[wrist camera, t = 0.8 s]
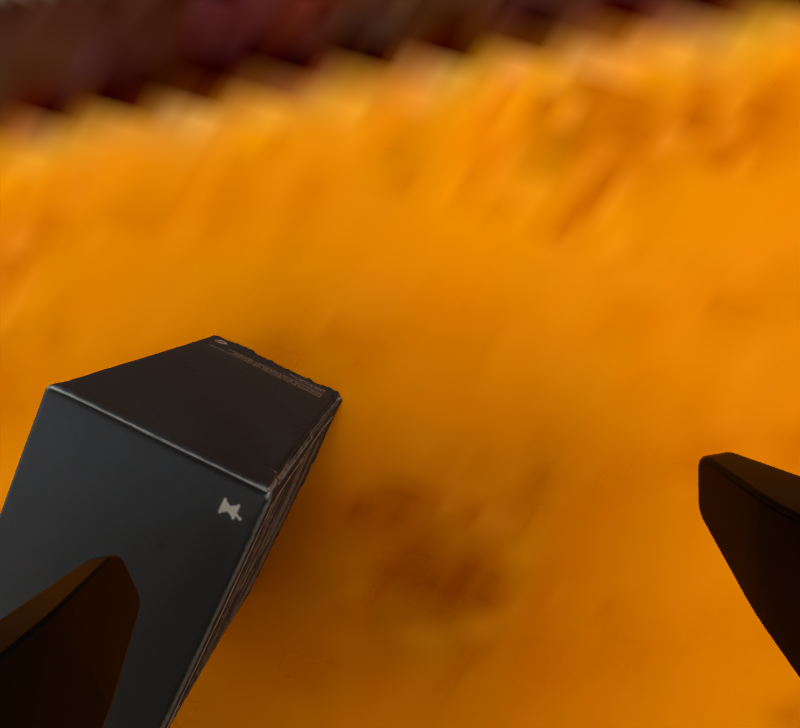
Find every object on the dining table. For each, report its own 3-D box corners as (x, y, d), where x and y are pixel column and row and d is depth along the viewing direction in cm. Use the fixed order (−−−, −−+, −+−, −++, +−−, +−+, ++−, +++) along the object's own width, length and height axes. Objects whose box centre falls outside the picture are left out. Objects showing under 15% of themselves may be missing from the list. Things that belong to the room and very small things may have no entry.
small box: (206, 325, 23) (33, 370, 13) (347, 393, 24) (287, 490, 13) (117, 536, 25) (-97, 724, 15) (249, 597, 25) (129, 824, 15)
